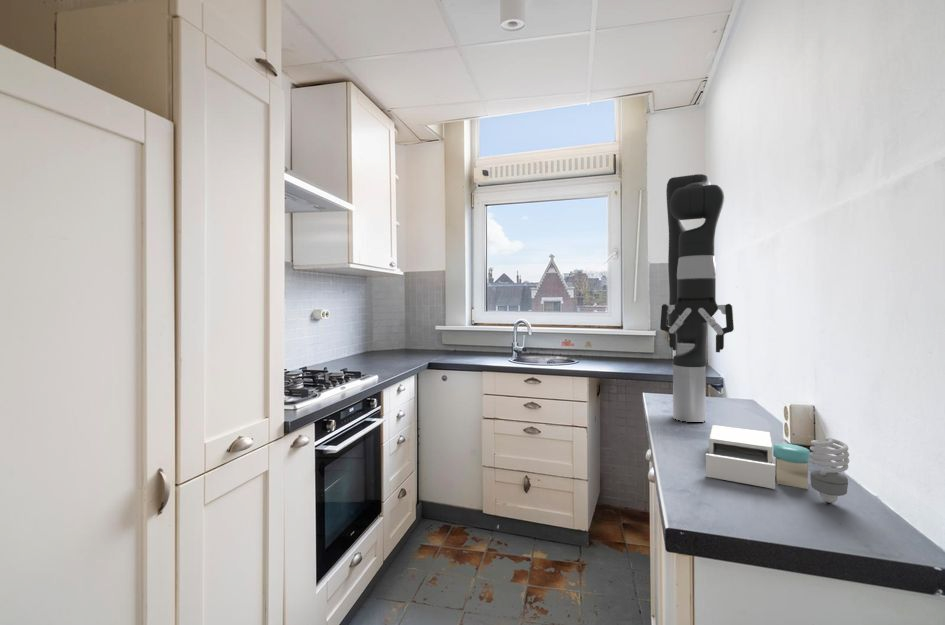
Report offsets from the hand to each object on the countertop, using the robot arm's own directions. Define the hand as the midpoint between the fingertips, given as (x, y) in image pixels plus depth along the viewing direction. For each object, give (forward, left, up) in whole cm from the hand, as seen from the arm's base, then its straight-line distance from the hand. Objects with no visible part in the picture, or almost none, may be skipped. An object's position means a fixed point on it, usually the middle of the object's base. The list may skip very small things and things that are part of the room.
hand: (695, 351), depth 96 cm
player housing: (-13, +8, -26) cm, 30 cm away
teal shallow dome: (-2, +17, -21) cm, 27 cm away
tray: (-2, +8, -26) cm, 27 cm away
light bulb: (+6, +22, -26) cm, 35 cm away
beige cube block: (-2, +17, -26) cm, 32 cm away
